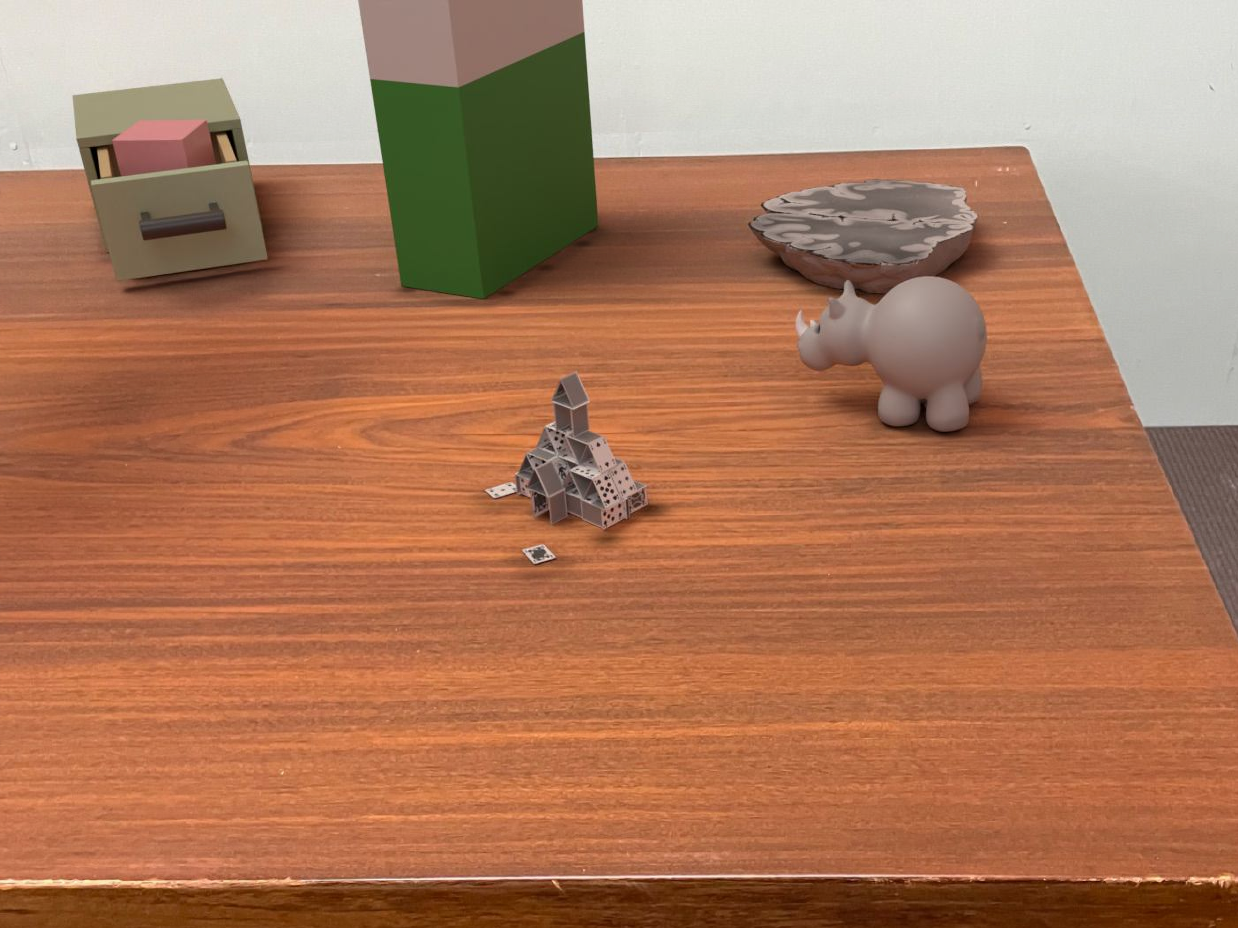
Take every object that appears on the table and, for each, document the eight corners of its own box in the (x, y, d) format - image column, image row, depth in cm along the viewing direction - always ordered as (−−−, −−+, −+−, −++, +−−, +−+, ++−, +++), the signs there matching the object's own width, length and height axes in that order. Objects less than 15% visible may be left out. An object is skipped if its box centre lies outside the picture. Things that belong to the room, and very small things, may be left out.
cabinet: (263, 230, 128) (240, 118, 122) (106, 252, 124) (76, 138, 119) (244, 182, 139) (222, 77, 134) (100, 201, 136) (72, 94, 130)
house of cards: (430, 516, 86) (411, 390, 81) (543, 461, 91) (530, 339, 87) (540, 567, 81) (526, 435, 76) (652, 506, 86) (645, 379, 82)
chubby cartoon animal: (815, 373, 100) (817, 245, 95) (994, 398, 96) (1005, 266, 91) (776, 417, 95) (775, 285, 90) (963, 446, 91) (973, 309, 86)
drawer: (274, 276, 116) (255, 179, 112) (119, 299, 113) (92, 200, 109) (249, 209, 129) (230, 120, 125) (109, 228, 127) (86, 138, 122)
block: (138, 244, 120) (111, 140, 115) (163, 221, 124) (138, 120, 119) (206, 244, 119) (182, 139, 114) (228, 221, 124) (206, 119, 119)
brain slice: (784, 210, 128) (784, 173, 126) (988, 222, 124) (991, 185, 122) (722, 293, 112) (721, 253, 111) (951, 310, 108) (954, 269, 107)
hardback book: (521, 215, 129) (489, -103, 115) (598, 225, 126) (575, -100, 112) (401, 286, 116) (348, -63, 102) (483, 298, 113) (441, -58, 99)
